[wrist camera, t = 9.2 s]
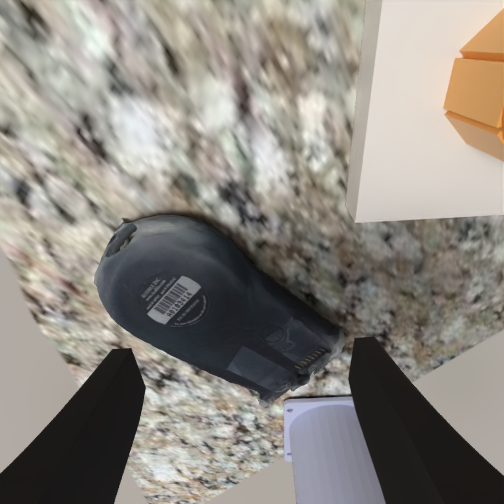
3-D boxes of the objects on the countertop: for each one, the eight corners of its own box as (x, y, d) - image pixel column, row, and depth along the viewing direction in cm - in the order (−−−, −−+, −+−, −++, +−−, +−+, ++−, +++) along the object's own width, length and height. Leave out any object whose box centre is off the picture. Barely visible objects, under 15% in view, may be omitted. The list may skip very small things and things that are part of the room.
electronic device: (342, 290, 24) (151, 174, 17) (363, 363, 20) (124, 250, 13) (257, 345, 29) (82, 273, 22) (261, 413, 25) (47, 350, 18)
